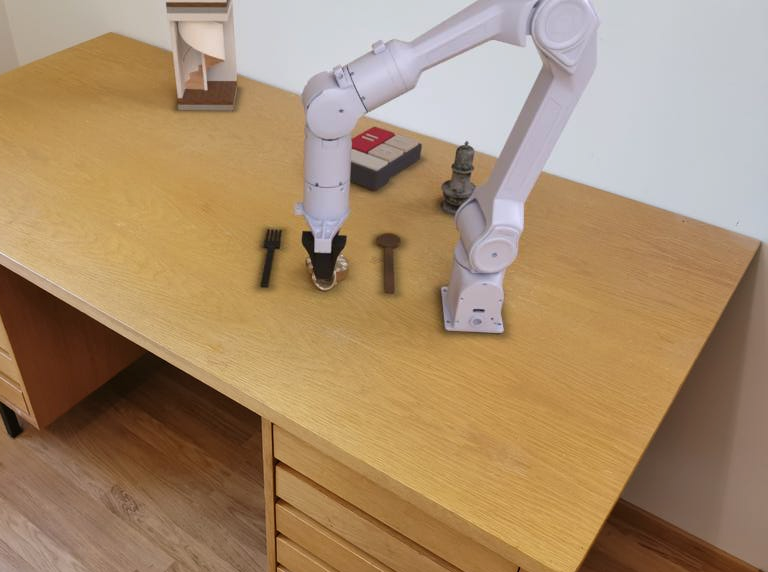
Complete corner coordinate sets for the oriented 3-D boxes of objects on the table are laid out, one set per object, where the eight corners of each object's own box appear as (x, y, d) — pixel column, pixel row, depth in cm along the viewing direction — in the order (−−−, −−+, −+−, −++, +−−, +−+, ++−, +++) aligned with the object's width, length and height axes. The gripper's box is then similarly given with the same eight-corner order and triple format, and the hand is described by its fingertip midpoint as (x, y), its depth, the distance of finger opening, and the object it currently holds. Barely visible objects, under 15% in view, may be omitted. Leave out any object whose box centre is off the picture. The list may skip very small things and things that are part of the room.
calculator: (423, 140, 136) (377, 168, 127) (420, 162, 139) (375, 191, 130) (373, 123, 141) (326, 149, 132) (371, 144, 144) (324, 172, 135)
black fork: (273, 287, 111) (273, 285, 110) (255, 287, 111) (255, 285, 111) (282, 231, 122) (282, 229, 121) (266, 230, 122) (266, 228, 121)
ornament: (314, 256, 116) (314, 237, 114) (356, 266, 114) (357, 246, 112) (295, 285, 111) (295, 266, 108) (338, 296, 109) (339, 276, 106)
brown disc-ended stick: (401, 293, 109) (402, 290, 109) (377, 292, 110) (377, 289, 109) (399, 236, 120) (400, 233, 120) (377, 235, 120) (377, 232, 120)
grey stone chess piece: (473, 217, 124) (485, 151, 116) (437, 214, 125) (447, 148, 116) (474, 199, 128) (486, 133, 120) (439, 196, 129) (449, 131, 121)
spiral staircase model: (178, 110, 154) (156, -82, 130) (185, 88, 162) (165, -97, 138) (233, 110, 154) (221, -82, 130) (237, 88, 162) (226, -97, 138)
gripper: (298, 146, 97) (298, 234, 106) (289, 206, 86) (290, 298, 95) (353, 148, 96) (348, 236, 105) (350, 208, 86) (345, 301, 95)
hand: (324, 266), depth 100 cm, fingers open, 4 cm apart
